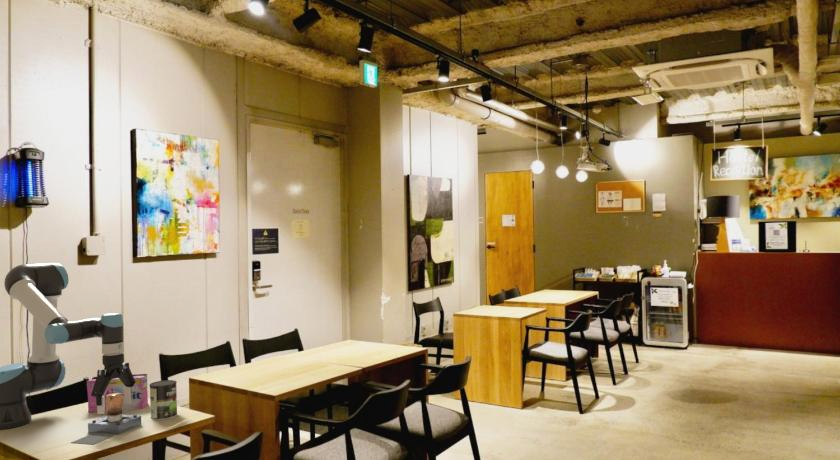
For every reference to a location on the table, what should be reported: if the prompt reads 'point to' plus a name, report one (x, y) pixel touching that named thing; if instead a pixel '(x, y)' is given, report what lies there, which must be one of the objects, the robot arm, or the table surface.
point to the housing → (114, 425)
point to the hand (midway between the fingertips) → (114, 408)
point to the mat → (92, 439)
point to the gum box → (116, 386)
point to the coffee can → (163, 399)
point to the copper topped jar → (114, 407)
